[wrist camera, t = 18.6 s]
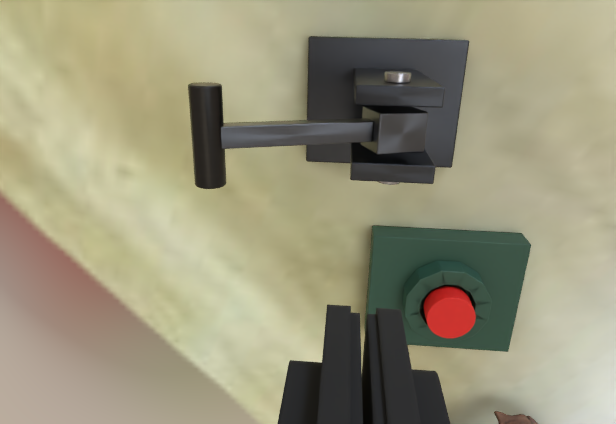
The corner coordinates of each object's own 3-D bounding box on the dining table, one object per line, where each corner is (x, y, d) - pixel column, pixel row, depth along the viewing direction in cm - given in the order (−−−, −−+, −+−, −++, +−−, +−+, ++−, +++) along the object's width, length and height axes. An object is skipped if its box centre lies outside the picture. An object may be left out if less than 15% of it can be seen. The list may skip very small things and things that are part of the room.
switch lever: (193, 178, 25) (196, 193, 23) (186, 81, 23) (189, 87, 21) (401, 165, 28) (421, 177, 26) (410, 79, 26) (432, 84, 24)
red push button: (421, 323, 38) (424, 336, 36) (426, 284, 36) (429, 296, 35) (466, 326, 37) (472, 340, 36) (473, 287, 36) (479, 299, 34)
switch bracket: (307, 157, 37) (289, 212, 26) (310, 36, 34) (290, 40, 23) (448, 163, 36) (491, 222, 25) (465, 40, 33) (522, 46, 22)
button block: (364, 326, 42) (365, 355, 39) (372, 225, 39) (374, 246, 35) (500, 336, 42) (515, 366, 38) (521, 233, 38) (540, 255, 34)
